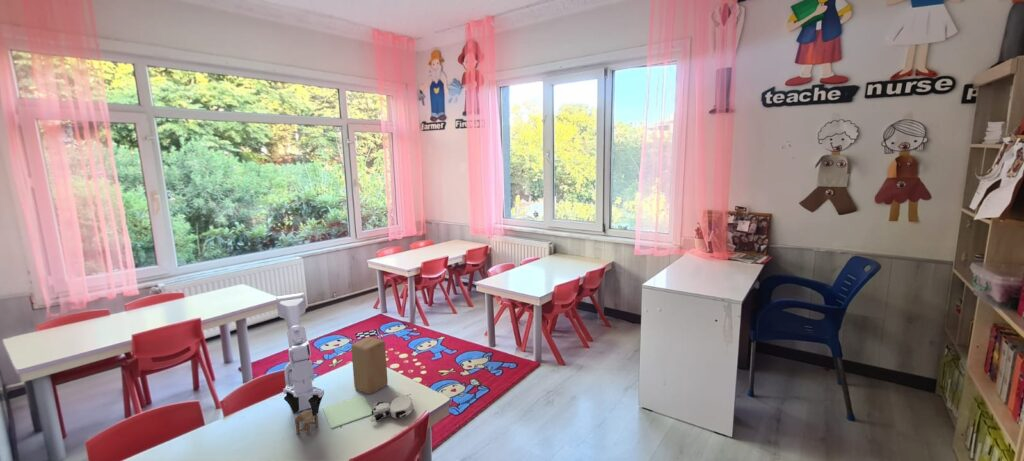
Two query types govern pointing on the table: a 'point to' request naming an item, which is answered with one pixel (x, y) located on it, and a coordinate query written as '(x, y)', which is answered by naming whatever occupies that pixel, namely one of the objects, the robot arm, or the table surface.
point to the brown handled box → (306, 421)
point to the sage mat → (347, 411)
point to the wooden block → (369, 365)
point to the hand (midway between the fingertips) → (305, 413)
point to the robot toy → (393, 408)
